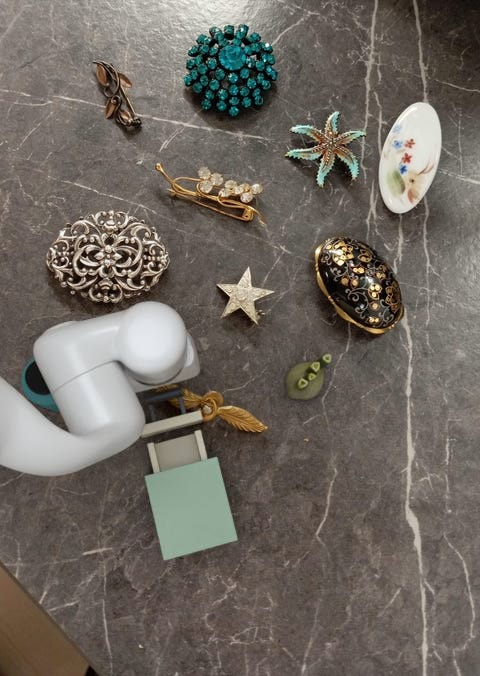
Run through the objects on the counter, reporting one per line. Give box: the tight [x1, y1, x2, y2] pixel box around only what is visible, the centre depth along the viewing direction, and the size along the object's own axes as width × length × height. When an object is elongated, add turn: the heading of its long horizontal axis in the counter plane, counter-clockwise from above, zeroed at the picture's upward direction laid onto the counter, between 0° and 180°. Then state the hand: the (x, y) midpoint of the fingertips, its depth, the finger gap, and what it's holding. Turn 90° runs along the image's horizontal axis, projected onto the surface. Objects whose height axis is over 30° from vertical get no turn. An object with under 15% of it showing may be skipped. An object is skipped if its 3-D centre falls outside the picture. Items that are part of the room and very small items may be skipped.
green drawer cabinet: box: [144, 456, 239, 562], centre depth 116 cm, size 10×9×8 cm
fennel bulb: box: [284, 353, 333, 401], centre depth 119 cm, size 6×5×12 cm
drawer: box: [140, 385, 209, 474], centre depth 118 cm, size 13×8×7 cm, turn 15°
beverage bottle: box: [20, 357, 61, 414], centre depth 113 cm, size 6×7×20 cm
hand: (158, 371), depth 119 cm, fingers closed
